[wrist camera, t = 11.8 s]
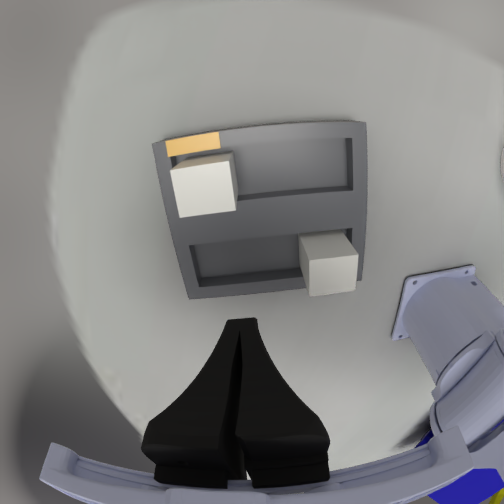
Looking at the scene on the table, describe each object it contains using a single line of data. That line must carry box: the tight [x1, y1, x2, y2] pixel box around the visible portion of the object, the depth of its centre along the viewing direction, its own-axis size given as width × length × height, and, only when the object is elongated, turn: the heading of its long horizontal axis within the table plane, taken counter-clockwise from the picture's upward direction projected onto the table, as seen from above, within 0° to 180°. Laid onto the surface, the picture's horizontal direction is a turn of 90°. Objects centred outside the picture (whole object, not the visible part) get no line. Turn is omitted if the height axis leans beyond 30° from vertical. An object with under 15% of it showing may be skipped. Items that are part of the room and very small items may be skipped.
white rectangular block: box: [170, 151, 238, 218], centre depth 16 cm, size 3×3×4 cm
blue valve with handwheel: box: [415, 419, 504, 504], centre depth 27 cm, size 26×27×30 cm
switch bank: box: [152, 121, 367, 299], centre depth 19 cm, size 13×11×2 cm
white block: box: [298, 229, 359, 297], centre depth 18 cm, size 3×3×4 cm
